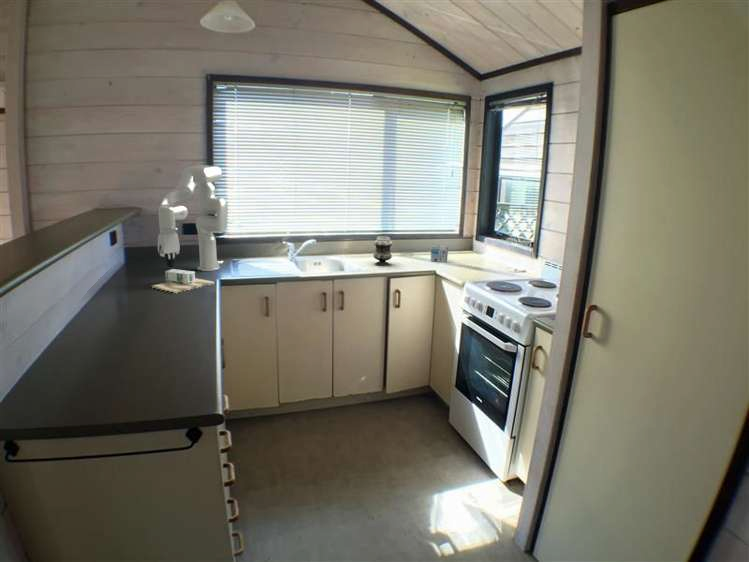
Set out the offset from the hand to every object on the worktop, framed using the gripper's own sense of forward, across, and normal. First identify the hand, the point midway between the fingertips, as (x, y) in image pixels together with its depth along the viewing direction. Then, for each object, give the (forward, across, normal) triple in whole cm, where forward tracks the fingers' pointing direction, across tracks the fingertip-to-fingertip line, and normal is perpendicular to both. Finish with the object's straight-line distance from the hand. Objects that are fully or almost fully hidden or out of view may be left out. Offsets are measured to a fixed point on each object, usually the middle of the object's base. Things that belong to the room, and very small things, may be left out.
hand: (170, 266), depth 246 cm
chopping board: (+9, 0, +9) cm, 13 cm away
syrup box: (+5, 0, -2) cm, 6 cm away
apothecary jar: (+9, -111, +63) cm, 128 cm away
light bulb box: (+9, -144, +89) cm, 170 cm away
